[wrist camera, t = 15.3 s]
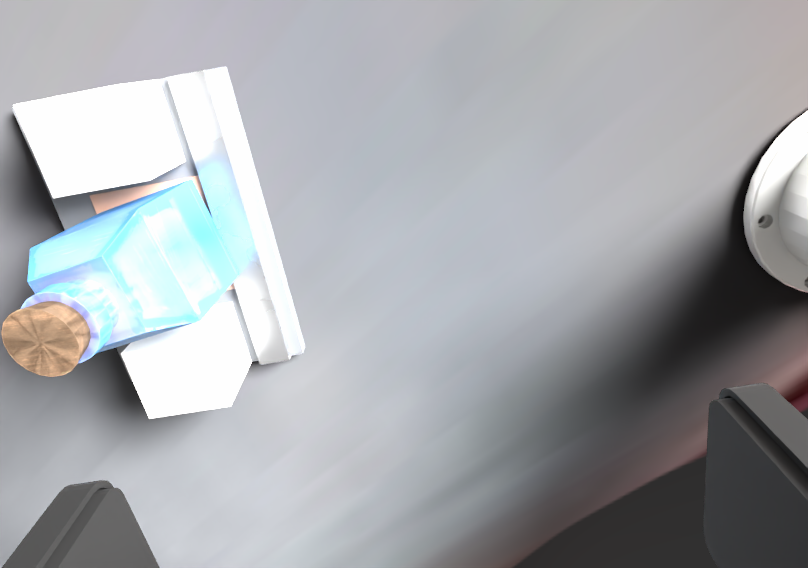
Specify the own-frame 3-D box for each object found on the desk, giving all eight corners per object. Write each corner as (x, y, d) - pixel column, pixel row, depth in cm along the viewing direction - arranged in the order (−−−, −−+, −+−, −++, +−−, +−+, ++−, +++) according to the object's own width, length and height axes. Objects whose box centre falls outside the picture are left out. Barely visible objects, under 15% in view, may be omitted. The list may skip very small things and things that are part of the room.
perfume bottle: (191, 178, 32) (61, 252, 21) (239, 274, 34) (145, 385, 23) (100, 212, 33) (-70, 299, 22) (153, 302, 35) (23, 422, 24)
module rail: (305, 346, 38) (288, 397, 32) (137, 373, 38) (92, 427, 33) (226, 66, 31) (188, 70, 25) (22, 105, 31) (-58, 118, 26)
